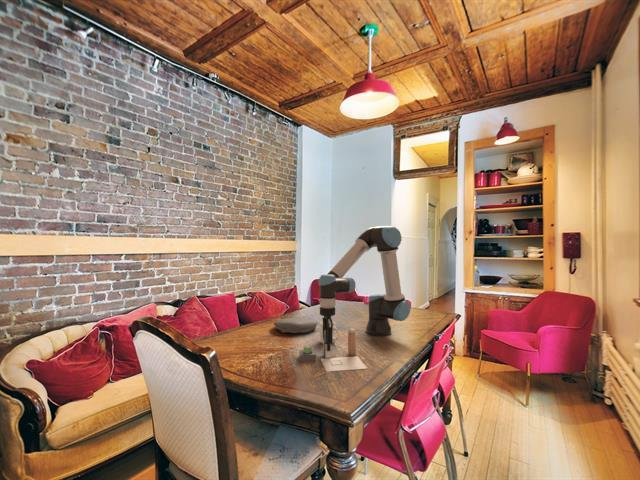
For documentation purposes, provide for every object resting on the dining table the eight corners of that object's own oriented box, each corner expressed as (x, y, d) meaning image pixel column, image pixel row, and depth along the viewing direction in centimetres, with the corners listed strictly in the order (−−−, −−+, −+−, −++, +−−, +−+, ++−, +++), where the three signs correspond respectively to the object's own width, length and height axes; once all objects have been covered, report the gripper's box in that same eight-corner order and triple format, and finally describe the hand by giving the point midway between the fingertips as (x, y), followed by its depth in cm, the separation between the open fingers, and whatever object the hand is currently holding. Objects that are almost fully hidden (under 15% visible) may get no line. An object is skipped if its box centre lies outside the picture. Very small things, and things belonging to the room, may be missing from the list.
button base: (313, 355, 147) (313, 349, 147) (315, 361, 140) (315, 354, 140) (299, 356, 145) (299, 350, 146) (300, 362, 139) (300, 355, 139)
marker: (330, 355, 147) (330, 329, 147) (332, 357, 143) (332, 331, 144) (323, 355, 146) (323, 330, 147) (324, 358, 143) (324, 332, 143)
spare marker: (354, 353, 149) (354, 328, 149) (356, 356, 146) (356, 330, 146) (347, 353, 149) (347, 328, 149) (349, 356, 145) (349, 330, 145)
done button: (310, 353, 145) (310, 345, 145) (312, 356, 141) (312, 348, 141) (303, 354, 144) (303, 345, 144) (303, 357, 140) (303, 348, 140)
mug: (333, 347, 159) (333, 326, 159) (316, 342, 167) (316, 322, 167) (343, 342, 165) (343, 323, 165) (326, 338, 173) (326, 319, 173)
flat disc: (326, 327, 196) (326, 320, 196) (300, 338, 172) (300, 331, 172) (292, 322, 211) (292, 315, 211) (264, 332, 187) (264, 324, 188)
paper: (357, 356, 145) (357, 356, 145) (367, 368, 131) (367, 368, 131) (320, 359, 142) (320, 358, 142) (326, 372, 128) (326, 371, 128)
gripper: (317, 304, 154) (316, 350, 152) (323, 310, 137) (322, 362, 136) (331, 303, 155) (331, 350, 154) (339, 309, 138) (339, 361, 137)
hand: (327, 355), depth 145 cm, fingers open, 4 cm apart
